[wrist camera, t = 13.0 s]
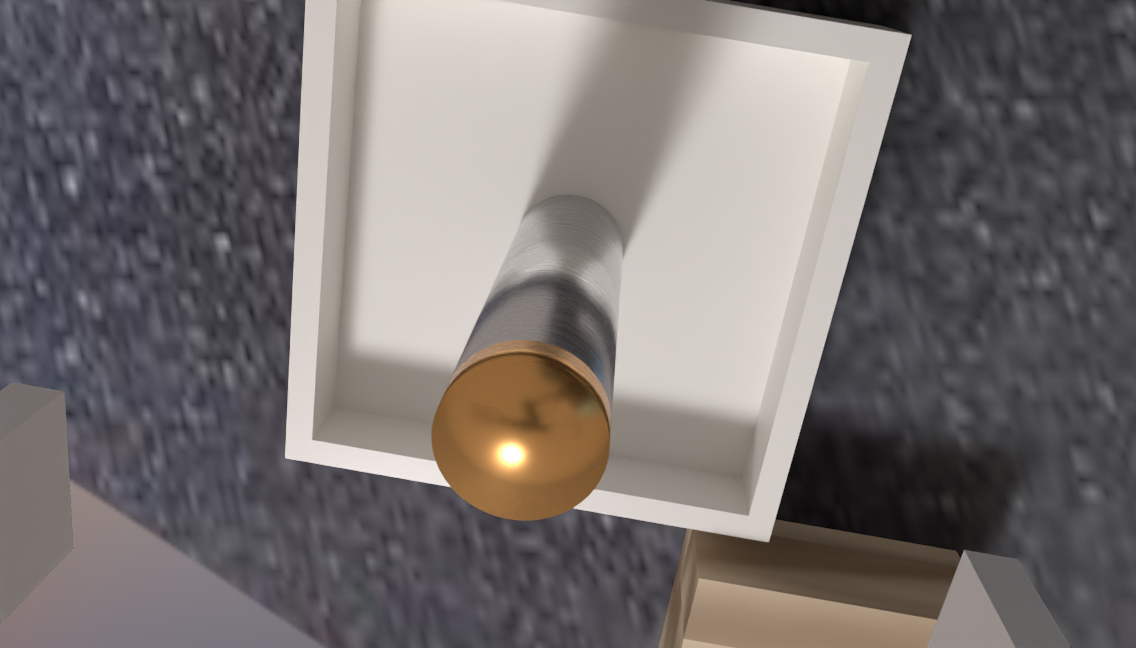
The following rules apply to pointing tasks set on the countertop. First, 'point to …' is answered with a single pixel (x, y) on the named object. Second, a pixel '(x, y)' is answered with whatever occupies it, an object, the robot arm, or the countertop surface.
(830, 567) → the socket block
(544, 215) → the pin
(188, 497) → the countertop surface
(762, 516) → the rectangular frame
